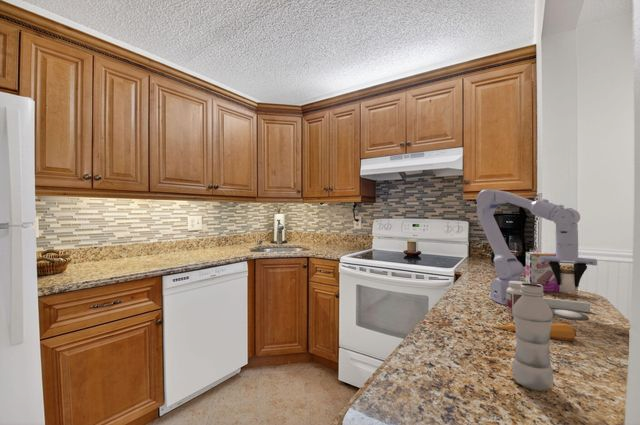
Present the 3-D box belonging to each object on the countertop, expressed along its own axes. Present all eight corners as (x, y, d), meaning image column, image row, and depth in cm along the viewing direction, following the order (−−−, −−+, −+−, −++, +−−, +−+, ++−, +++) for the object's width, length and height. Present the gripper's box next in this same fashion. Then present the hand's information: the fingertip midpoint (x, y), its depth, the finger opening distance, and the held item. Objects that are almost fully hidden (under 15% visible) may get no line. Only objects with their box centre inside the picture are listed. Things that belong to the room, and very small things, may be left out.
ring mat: (567, 320, 91) (567, 319, 91) (541, 310, 101) (541, 309, 101) (596, 319, 92) (596, 318, 92) (567, 309, 102) (567, 307, 102)
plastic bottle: (504, 377, 61) (503, 281, 61) (535, 375, 61) (533, 280, 61) (529, 397, 54) (528, 290, 54) (563, 394, 55) (561, 288, 55)
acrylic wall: (590, 312, 99) (590, 303, 99) (539, 306, 106) (538, 297, 106) (589, 311, 99) (589, 302, 99) (538, 305, 106) (538, 297, 106)
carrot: (575, 342, 79) (571, 324, 80) (579, 341, 75) (574, 323, 77) (490, 335, 88) (488, 319, 90) (490, 334, 85) (488, 318, 86)
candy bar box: (530, 291, 125) (530, 253, 125) (525, 288, 130) (524, 251, 130) (560, 292, 123) (560, 254, 123) (554, 289, 127) (553, 252, 127)
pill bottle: (532, 316, 96) (532, 282, 96) (524, 319, 93) (523, 285, 93) (511, 310, 101) (511, 279, 101) (503, 314, 98) (502, 281, 98)
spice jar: (567, 292, 95) (566, 271, 95) (556, 289, 99) (556, 269, 99) (578, 292, 95) (578, 270, 95) (567, 289, 99) (566, 268, 99)
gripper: (592, 244, 97) (592, 285, 97) (538, 242, 104) (538, 280, 104) (599, 246, 91) (599, 289, 91) (541, 244, 98) (541, 284, 98)
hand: (567, 285), depth 97 cm, fingers closed on spice jar, 4 cm apart
